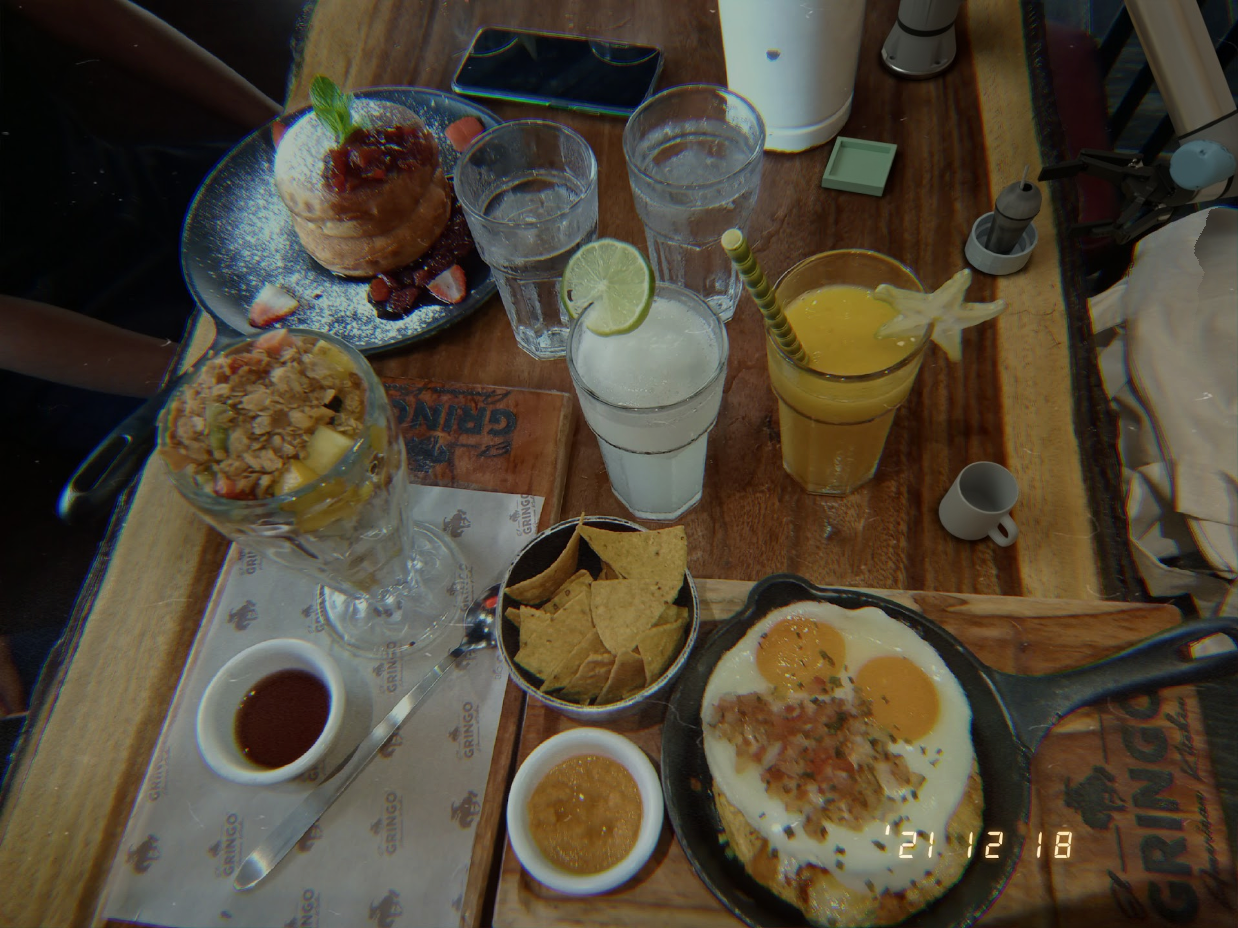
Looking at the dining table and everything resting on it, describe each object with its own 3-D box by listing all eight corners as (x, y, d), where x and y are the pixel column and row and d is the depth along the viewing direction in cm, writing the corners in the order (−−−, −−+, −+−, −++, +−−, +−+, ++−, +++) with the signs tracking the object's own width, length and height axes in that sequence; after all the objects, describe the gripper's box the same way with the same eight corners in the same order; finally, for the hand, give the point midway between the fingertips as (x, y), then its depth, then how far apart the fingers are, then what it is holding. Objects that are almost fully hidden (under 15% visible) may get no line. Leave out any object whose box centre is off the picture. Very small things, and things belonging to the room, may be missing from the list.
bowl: (970, 225, 139) (978, 205, 135) (1032, 236, 136) (1042, 216, 132) (959, 269, 135) (966, 250, 131) (1023, 281, 132) (1033, 262, 128)
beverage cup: (1018, 268, 133) (1061, 182, 115) (975, 265, 135) (1011, 181, 117) (1017, 237, 136) (1059, 149, 118) (975, 235, 138) (1010, 148, 120)
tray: (836, 145, 153) (837, 136, 151) (895, 154, 150) (897, 144, 148) (821, 186, 149) (822, 177, 147) (881, 196, 146) (883, 187, 143)
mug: (926, 506, 117) (944, 477, 107) (971, 481, 117) (993, 450, 107) (976, 569, 111) (999, 544, 101) (1023, 542, 112) (1051, 516, 102)
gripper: (1204, 253, 121) (1071, 273, 123) (1144, 148, 132) (1022, 168, 134) (1231, 219, 114) (1090, 242, 116) (1165, 113, 126) (1037, 134, 128)
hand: (1053, 202), depth 125 cm, fingers open, 13 cm apart
